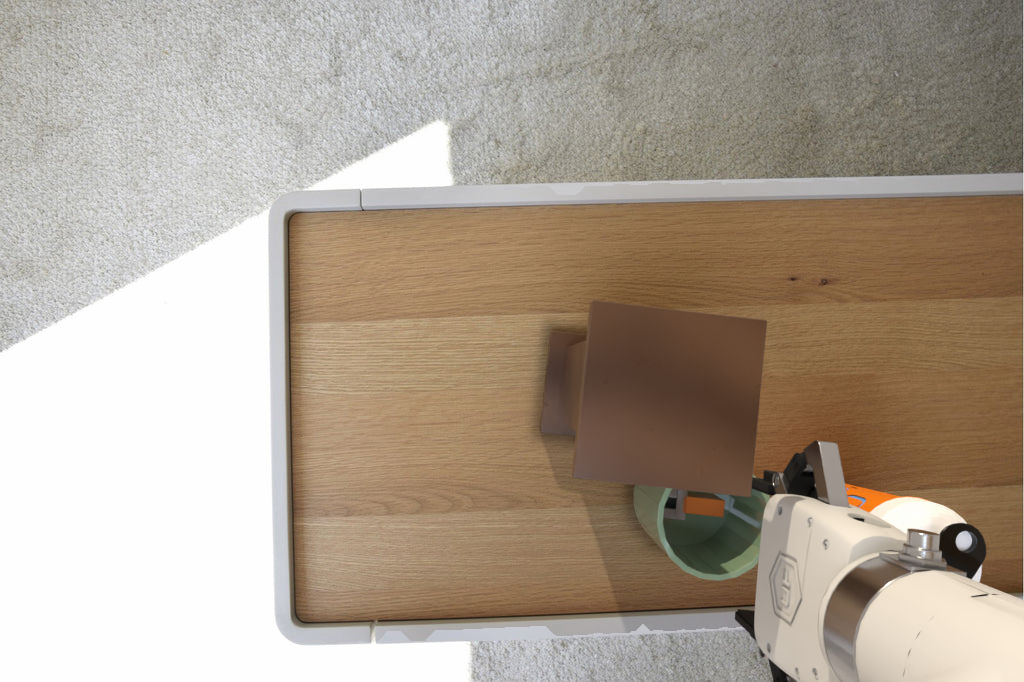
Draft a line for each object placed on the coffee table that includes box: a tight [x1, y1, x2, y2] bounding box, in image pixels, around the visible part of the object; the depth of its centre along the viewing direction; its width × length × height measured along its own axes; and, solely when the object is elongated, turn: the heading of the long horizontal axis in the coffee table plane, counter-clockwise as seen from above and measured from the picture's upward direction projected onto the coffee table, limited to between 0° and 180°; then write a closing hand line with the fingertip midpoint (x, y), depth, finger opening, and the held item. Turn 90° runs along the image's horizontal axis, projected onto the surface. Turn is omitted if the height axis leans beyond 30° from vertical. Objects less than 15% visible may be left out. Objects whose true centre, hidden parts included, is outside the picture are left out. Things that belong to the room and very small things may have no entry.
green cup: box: [632, 474, 772, 582], centre depth 60 cm, size 10×10×10 cm
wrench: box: [663, 489, 725, 521], centre depth 63 cm, size 6×3×3 cm, turn 84°
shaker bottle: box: [845, 483, 988, 583], centre depth 56 cm, size 9×9×20 cm
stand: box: [538, 299, 768, 497], centre depth 51 cm, size 10×10×29 cm
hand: (760, 548), depth 48 cm, fingers open, 9 cm apart
